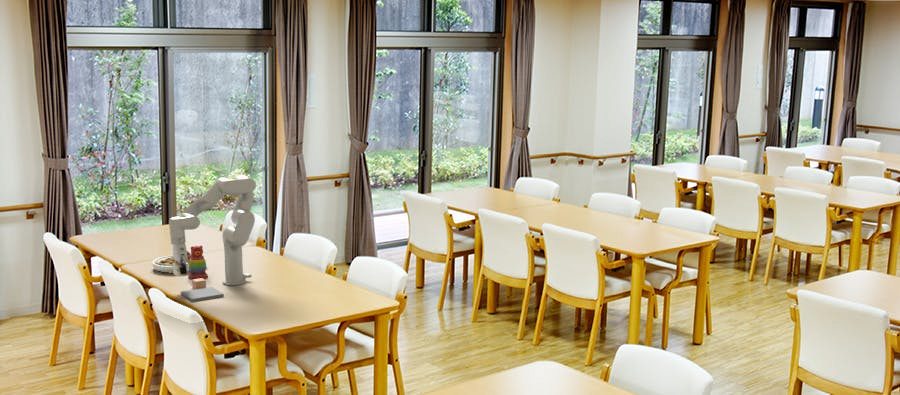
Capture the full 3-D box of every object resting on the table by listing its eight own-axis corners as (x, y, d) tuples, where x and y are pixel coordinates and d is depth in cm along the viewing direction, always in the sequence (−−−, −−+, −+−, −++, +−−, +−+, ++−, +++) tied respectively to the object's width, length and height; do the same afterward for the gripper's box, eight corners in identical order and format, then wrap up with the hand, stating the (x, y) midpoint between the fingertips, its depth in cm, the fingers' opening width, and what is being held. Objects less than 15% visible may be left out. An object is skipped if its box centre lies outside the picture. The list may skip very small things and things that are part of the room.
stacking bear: (188, 279, 522) (186, 248, 519) (188, 275, 532) (186, 244, 529) (208, 278, 525) (206, 247, 522) (207, 273, 535) (206, 243, 532)
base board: (211, 289, 502) (211, 286, 502) (223, 296, 488) (223, 293, 488) (180, 294, 492) (180, 291, 492) (192, 301, 479) (191, 298, 478)
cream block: (185, 271, 501) (184, 261, 500) (189, 274, 496) (188, 263, 495) (173, 274, 498) (172, 263, 496) (177, 276, 492) (176, 265, 491)
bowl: (197, 275, 533) (197, 261, 531) (145, 274, 533) (144, 261, 532) (211, 262, 562) (211, 250, 561) (162, 262, 563) (161, 249, 561)
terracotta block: (202, 287, 507) (201, 278, 507) (205, 289, 503) (205, 280, 502) (192, 288, 504) (192, 279, 503) (196, 290, 500) (195, 281, 499)
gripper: (190, 241, 488) (193, 274, 492) (179, 236, 502) (182, 268, 506) (176, 244, 484) (179, 277, 488) (165, 238, 498) (169, 270, 502)
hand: (181, 272), depth 497 cm, fingers closed on cream block, 6 cm apart
